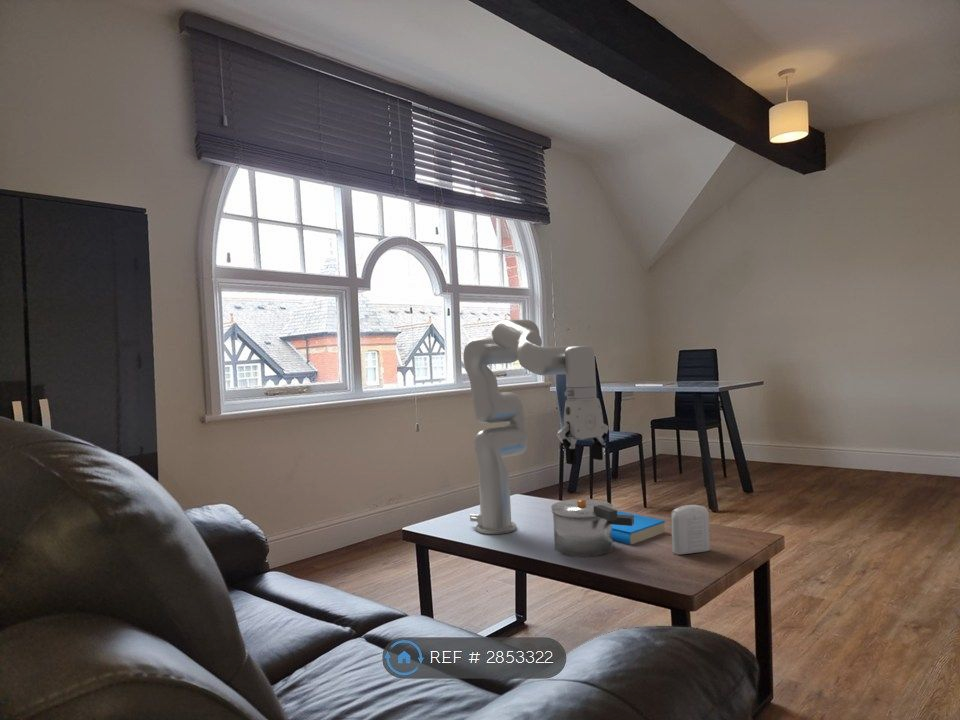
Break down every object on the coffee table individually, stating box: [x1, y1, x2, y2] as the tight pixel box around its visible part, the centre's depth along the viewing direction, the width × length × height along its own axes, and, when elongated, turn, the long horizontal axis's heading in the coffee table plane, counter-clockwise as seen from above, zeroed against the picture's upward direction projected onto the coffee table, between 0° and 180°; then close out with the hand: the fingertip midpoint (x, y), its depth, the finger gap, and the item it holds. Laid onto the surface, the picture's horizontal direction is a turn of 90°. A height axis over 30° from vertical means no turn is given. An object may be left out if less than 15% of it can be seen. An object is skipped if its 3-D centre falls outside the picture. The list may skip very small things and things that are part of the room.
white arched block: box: [670, 504, 711, 556], centre depth 170 cm, size 10×4×12 cm, turn 106°
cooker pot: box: [552, 513, 634, 558], centre depth 176 cm, size 22×16×10 cm
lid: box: [551, 498, 618, 521], centre depth 174 cm, size 23×17×3 cm
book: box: [612, 510, 666, 546], centre depth 193 cm, size 17×4×25 cm
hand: (584, 461), depth 163 cm, fingers open, 8 cm apart
